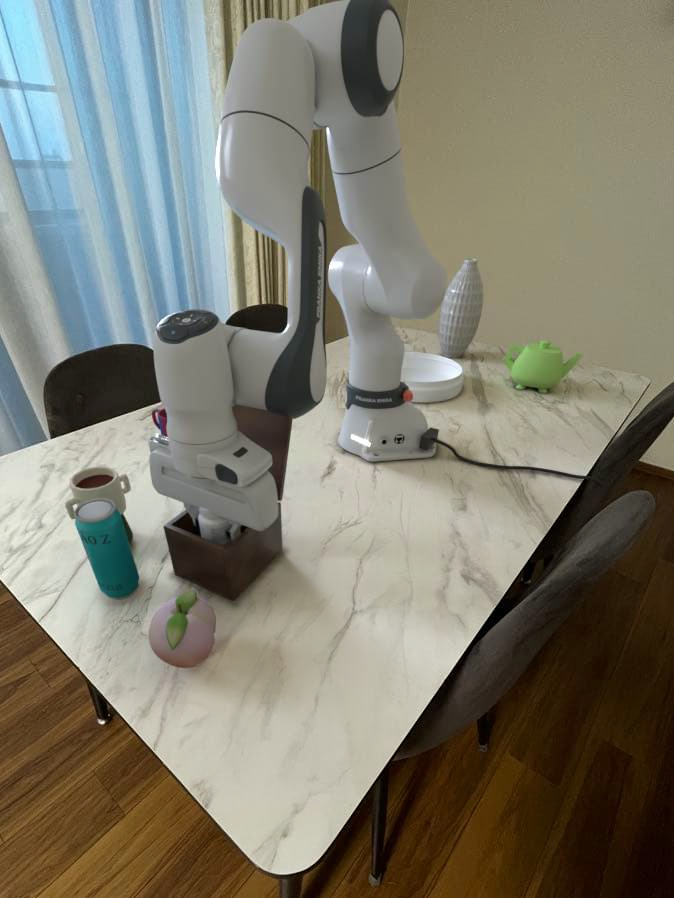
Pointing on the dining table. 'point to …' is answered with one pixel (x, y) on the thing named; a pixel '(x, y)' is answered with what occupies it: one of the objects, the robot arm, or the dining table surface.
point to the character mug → (100, 490)
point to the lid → (267, 437)
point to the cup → (160, 420)
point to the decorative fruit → (183, 630)
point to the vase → (461, 310)
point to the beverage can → (107, 547)
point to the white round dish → (431, 377)
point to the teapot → (538, 365)
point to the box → (221, 555)
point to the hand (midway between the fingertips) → (217, 531)
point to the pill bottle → (213, 527)
